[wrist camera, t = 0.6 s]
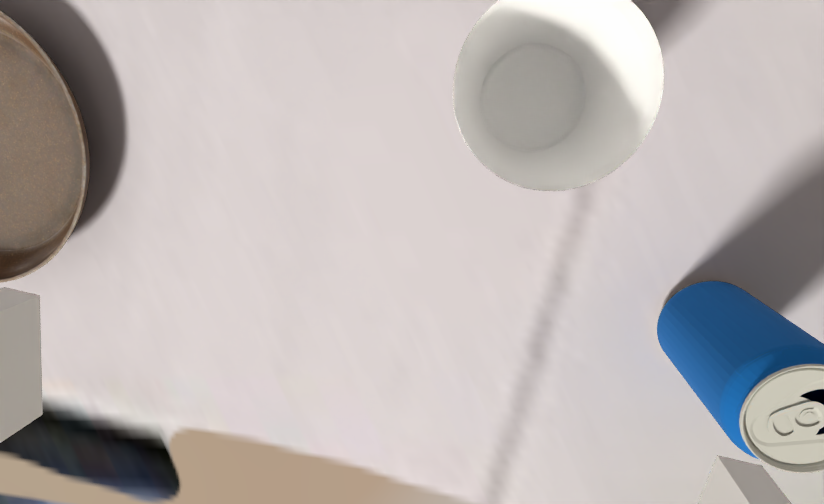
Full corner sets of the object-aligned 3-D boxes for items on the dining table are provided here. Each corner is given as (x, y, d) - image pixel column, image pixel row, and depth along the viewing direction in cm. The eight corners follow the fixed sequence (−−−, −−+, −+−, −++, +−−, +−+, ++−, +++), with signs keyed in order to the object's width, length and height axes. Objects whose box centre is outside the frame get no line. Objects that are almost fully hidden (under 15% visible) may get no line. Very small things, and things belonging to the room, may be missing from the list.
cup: (457, 165, 35) (442, 189, 24) (466, 21, 33) (455, -30, 21) (594, 173, 34) (649, 202, 23) (614, 25, 32) (687, -28, 20)
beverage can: (769, 344, 35) (906, 454, 24) (674, 379, 37) (760, 498, 25) (734, 261, 34) (859, 334, 23) (638, 301, 36) (710, 388, 24)
